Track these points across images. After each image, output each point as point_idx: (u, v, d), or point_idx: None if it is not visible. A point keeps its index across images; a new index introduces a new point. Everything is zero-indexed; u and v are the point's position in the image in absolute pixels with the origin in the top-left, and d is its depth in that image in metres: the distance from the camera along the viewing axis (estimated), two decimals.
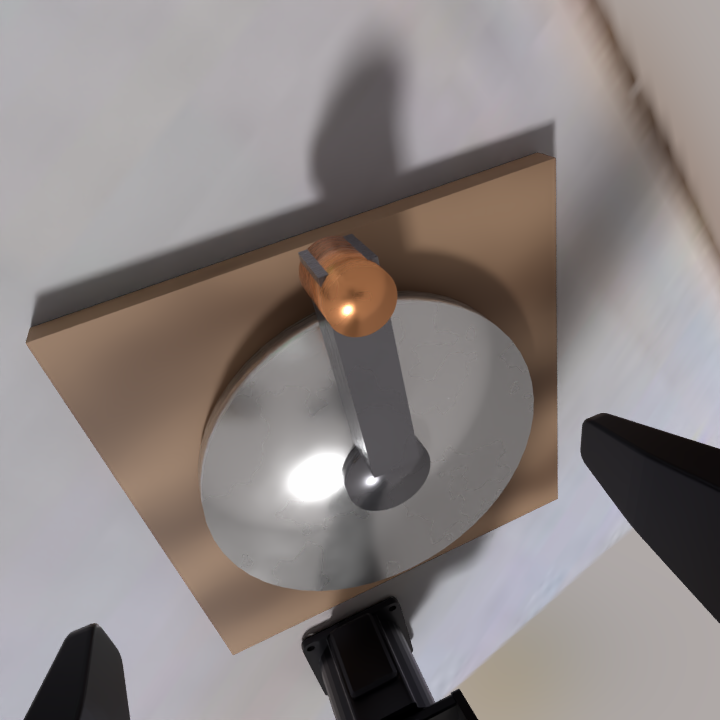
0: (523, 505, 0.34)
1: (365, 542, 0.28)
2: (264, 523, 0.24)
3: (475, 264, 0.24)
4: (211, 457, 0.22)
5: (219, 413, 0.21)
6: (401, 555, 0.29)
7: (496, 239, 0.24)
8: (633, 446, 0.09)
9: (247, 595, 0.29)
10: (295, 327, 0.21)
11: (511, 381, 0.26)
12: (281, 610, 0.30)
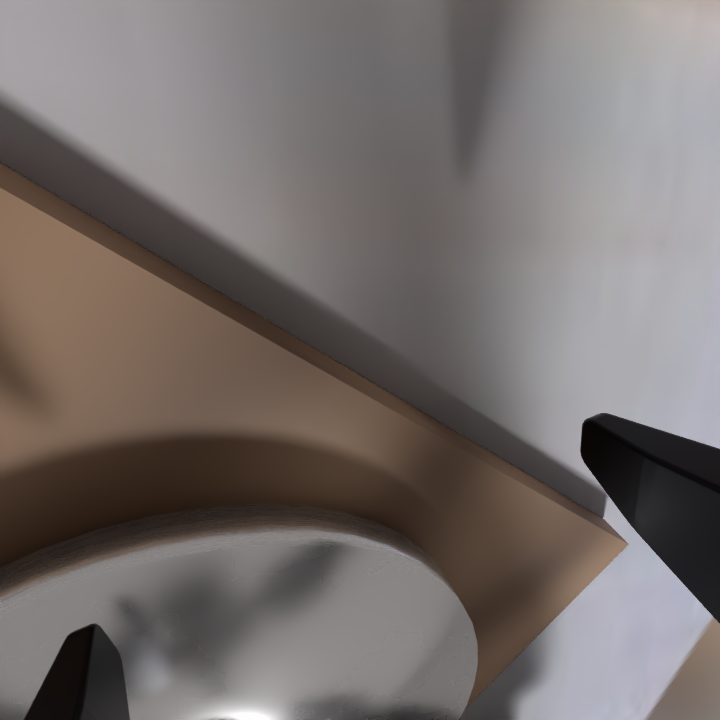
0: (567, 587, 0.19)
1: None
2: None
3: (39, 460, 0.10)
4: None
5: None
6: None
7: (23, 397, 0.09)
8: (633, 446, 0.09)
9: None
10: None
11: (311, 580, 0.12)
12: None
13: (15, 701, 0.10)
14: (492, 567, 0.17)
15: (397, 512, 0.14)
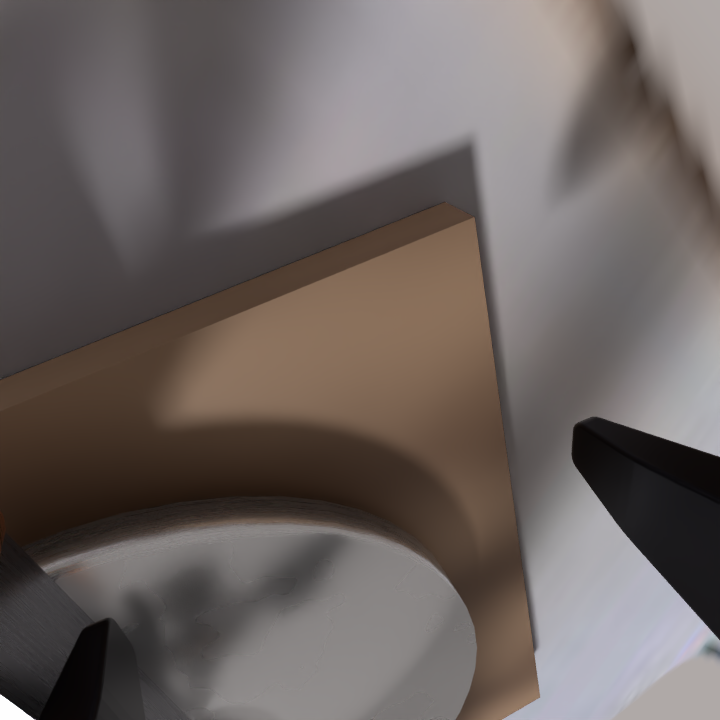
0: (486, 717, 0.22)
1: None
2: None
3: (330, 427, 0.12)
4: None
5: None
6: None
7: (368, 379, 0.12)
8: (623, 450, 0.09)
9: None
10: None
11: (426, 615, 0.14)
12: None
13: (197, 618, 0.11)
14: None
15: (456, 590, 0.17)
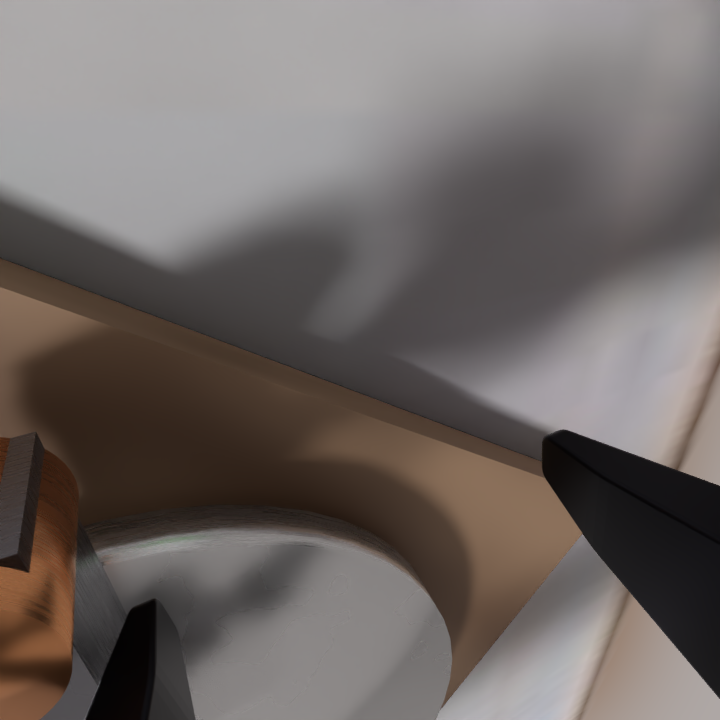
0: None
1: None
2: None
3: (468, 561, 0.17)
4: None
5: None
6: None
7: (506, 546, 0.17)
8: (589, 465, 0.09)
9: None
10: None
11: (414, 642, 0.15)
12: None
13: (217, 621, 0.11)
14: None
15: None
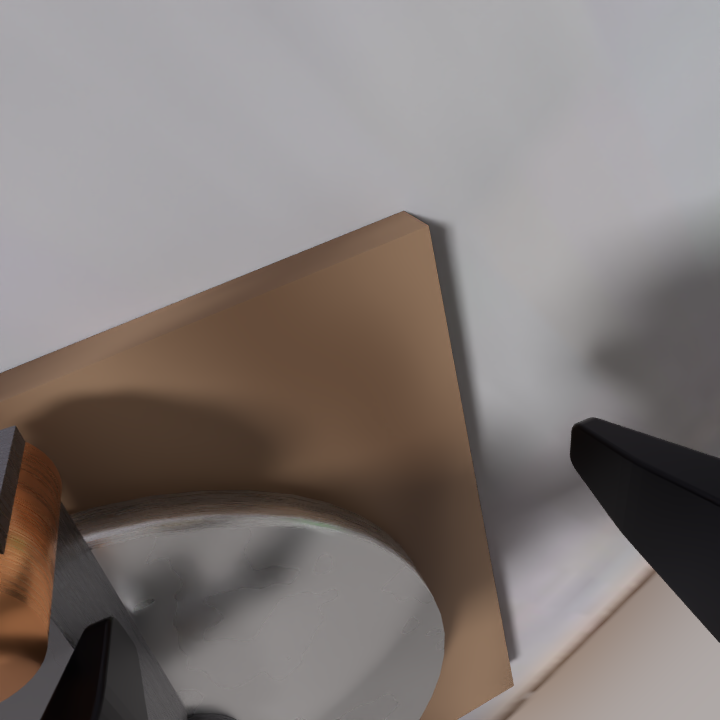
0: None
1: None
2: None
3: None
4: None
5: None
6: None
7: (450, 684, 0.21)
8: (621, 451, 0.09)
9: None
10: None
11: (404, 618, 0.15)
12: None
13: (206, 600, 0.12)
14: None
15: None
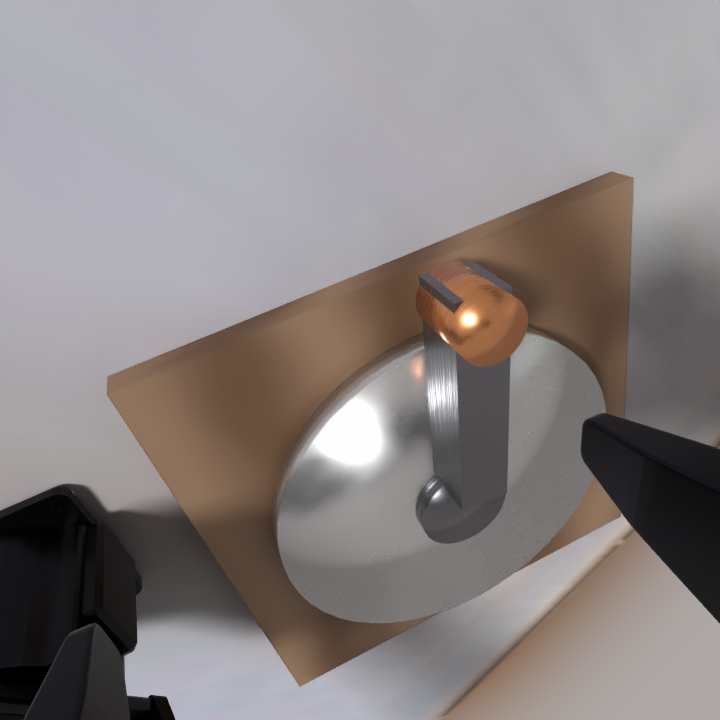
0: (301, 657, 0.29)
1: (425, 575, 0.27)
2: (334, 550, 0.24)
3: None
4: (297, 479, 0.21)
5: (311, 434, 0.21)
6: (455, 590, 0.28)
7: (584, 503, 0.32)
8: (633, 446, 0.09)
9: (248, 394, 0.20)
10: (395, 351, 0.21)
11: None
12: (199, 443, 0.21)
13: None
14: None
15: None
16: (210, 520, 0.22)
